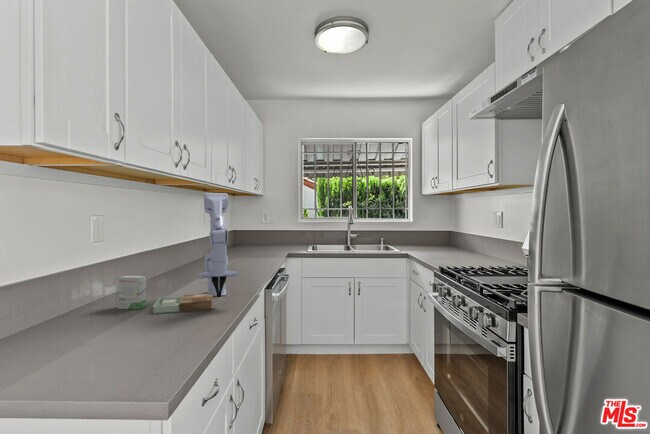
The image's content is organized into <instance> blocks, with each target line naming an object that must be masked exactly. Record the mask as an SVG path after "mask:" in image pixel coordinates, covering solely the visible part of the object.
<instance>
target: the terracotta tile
mask: <svg viewBox="0 0 650 434" xmlns="http://www.w3.org/2000/svg"><path fill="white" fill-rule="evenodd" d="M193 295H194V302H200V301H207V293H200V294H199V295H196V294H193Z"/></svg>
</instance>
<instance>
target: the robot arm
mask: <svg viewBox="0 0 650 434" xmlns="http://www.w3.org/2000/svg"><path fill="white" fill-rule="evenodd" d="M228 196H229V195H228V193H226V192H223V193H222V192H219V193H218V192H204V193H203V206H204V207H203V208H204V209H203V210H204V212H205V213H207V214H208V215H209V218H210V219H209V224H210V225H209V227H210V231H209V244H210V251H209V252H207V253H206V254H205V255H204V261H203V262H204V272H199V273H198V279H199V280H202V279H207V290H206V291H207V293H206V294H213V297H217V298H221V297H222V296H226V295H227V289H226V281H227V278H240V277H239V271H236V270H235V271H234V270H233V271H232V270H231V271H230V270H229V258H228V253H227V252H228V251H227V247H228V242H229V234H228V229H227V226H226V219H225V217H224V216H223V214H224V213H225V214H226V212H227V210H228V205H229V197H228Z"/></svg>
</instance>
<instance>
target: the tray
mask: <svg viewBox="0 0 650 434" xmlns="http://www.w3.org/2000/svg"><path fill="white" fill-rule="evenodd" d="M182 298H183V296H174V297H173V296H171V297H170V296H169V297H159V298H158V299H157V300H156V302H155V303H154V304H153V306H152V314H167V313H180V310H179V303H180V302H181V300H182ZM168 299H176V305H169V306H162V302H163V300H168Z"/></svg>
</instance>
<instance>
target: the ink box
mask: <svg viewBox="0 0 650 434" xmlns="http://www.w3.org/2000/svg"><path fill="white" fill-rule="evenodd" d="M145 307H147V276H145V275H123V276H120V277H118V278H117V309H118V310H141V309H143V308H145Z"/></svg>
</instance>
